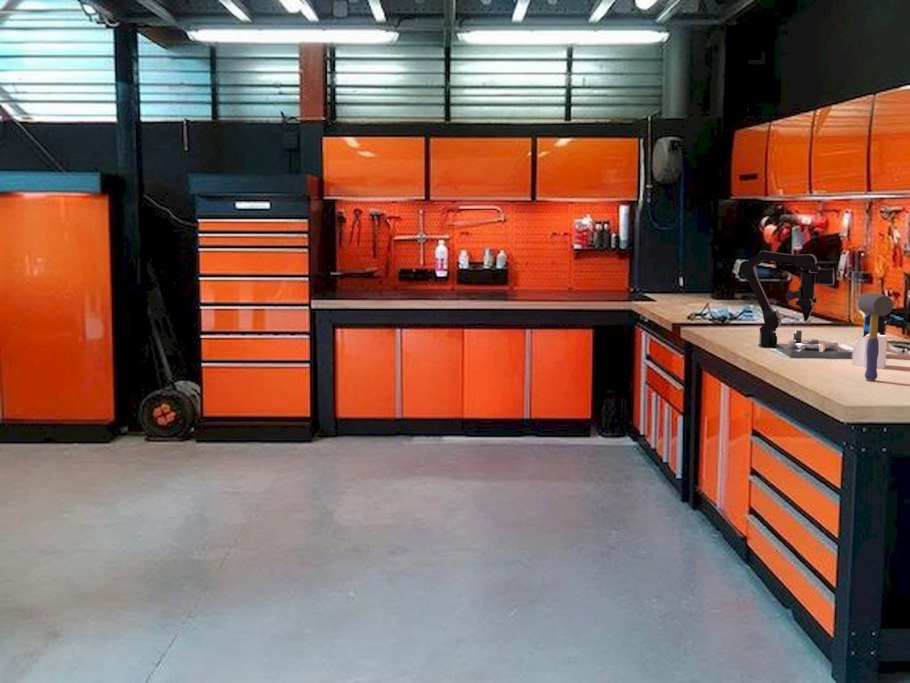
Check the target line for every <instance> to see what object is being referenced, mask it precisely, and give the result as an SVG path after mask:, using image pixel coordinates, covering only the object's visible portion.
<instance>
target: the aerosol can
mask: <svg viewBox="0 0 910 683" xmlns="http://www.w3.org/2000/svg"><path fill="white" fill-rule="evenodd" d="M863 318H864V320H863V336H862V338H864V337H865V336H866V335H867V334H869V332H870V318H871V314H868V313H866V314H865V315H864V316H863ZM886 319H887V317H886V315H885V316H878V333H880V335H885V330H886V329H885V328H886Z"/></svg>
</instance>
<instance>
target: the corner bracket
mask: <svg viewBox="0 0 910 683" xmlns="http://www.w3.org/2000/svg"><path fill="white" fill-rule="evenodd" d="M877 338H878V343H879V353H878V358H877V369H881V370H883V369H885V368H886V363H887V362H886V361H887V347H888V346H887V345H888V335H887V334H884V335H880V333H878V334H877ZM868 339H869V334H867V335H866V336H865V337H864V338H863V337H862V338H861V339H860V340H859V341H858V342H855V344H854V345H852V346H853V347H852V358H851V360H852V362H851V364H852V366H861V367H863V368H866V366H867V354H866V352H867V343H868Z"/></svg>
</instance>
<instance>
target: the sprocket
mask: <svg viewBox="0 0 910 683" xmlns="http://www.w3.org/2000/svg"><path fill="white" fill-rule="evenodd" d="M802 332H803V331H802V330H797V329H796V330H793V340H788V343H787V344H788V347H795V348H800V349H804V350H805V349H812V350H818V348H819V344H823V350H828V349H835V350H837V349H838V347H839V343H838V342H831V341H826V340H819V339H812V338H811V339H810V338H809V339H802V334H803V333H802Z"/></svg>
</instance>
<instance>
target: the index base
mask: <svg viewBox="0 0 910 683" xmlns="http://www.w3.org/2000/svg"><path fill="white" fill-rule="evenodd" d="M776 349H777V350H776ZM775 350H776V351H778V350H779V351H778V352H779V353H781V352H782V353H781V354H784V355H786V356H787V357H789V358H797V359H798V358H799V359H800V358H801V359H803V358H804V359H805V358H806V359H808V358H809V359H810V358H811V359H813V358H814V359H852V358H853V351H850V350H847V349H845V348H843V347H841V346H838V349H837V350H835V349H828V350H823V344H819V348H818V350H812V349H805V350H804V349H800V348H795V347H788V343H777V344H776V347H775Z"/></svg>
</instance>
